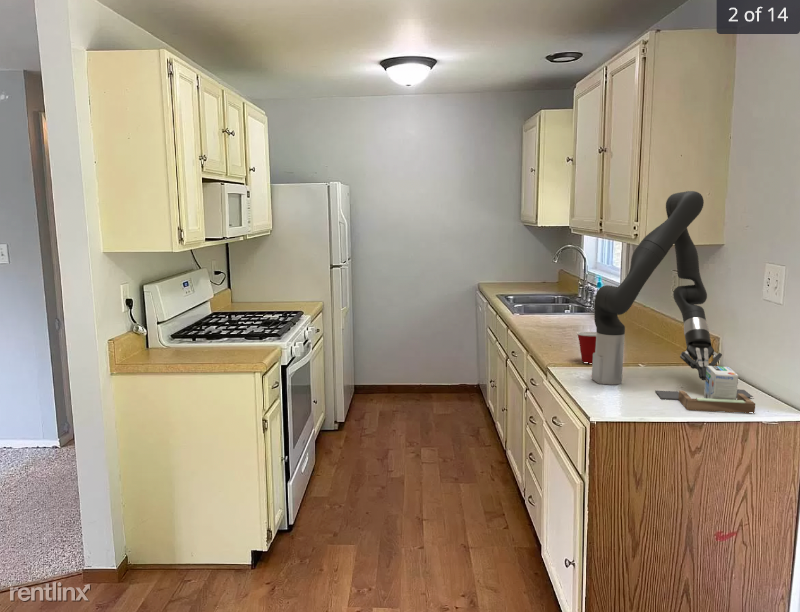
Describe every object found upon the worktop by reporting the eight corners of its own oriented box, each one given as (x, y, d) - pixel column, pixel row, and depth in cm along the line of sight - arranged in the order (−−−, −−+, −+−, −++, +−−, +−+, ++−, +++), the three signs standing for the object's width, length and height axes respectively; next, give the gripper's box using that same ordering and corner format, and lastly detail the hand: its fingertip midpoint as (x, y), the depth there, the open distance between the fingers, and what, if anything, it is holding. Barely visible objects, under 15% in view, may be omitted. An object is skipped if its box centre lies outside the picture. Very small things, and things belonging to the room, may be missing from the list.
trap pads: (651, 386, 207) (651, 385, 206) (744, 391, 202) (744, 389, 202) (661, 399, 193) (661, 397, 193) (761, 404, 188) (761, 402, 188)
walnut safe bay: (678, 399, 193) (679, 389, 192) (741, 403, 189) (742, 392, 189) (687, 409, 183) (688, 399, 182) (754, 413, 180) (755, 402, 179)
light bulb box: (703, 398, 195) (705, 365, 193) (726, 399, 193) (729, 366, 191) (711, 408, 184) (714, 373, 183) (736, 410, 183) (739, 375, 181)
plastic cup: (598, 358, 244) (599, 329, 242) (608, 365, 233) (610, 335, 232) (571, 359, 244) (572, 329, 242) (580, 366, 233) (581, 335, 231)
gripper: (678, 327, 204) (685, 372, 194) (721, 328, 202) (730, 374, 192) (673, 339, 210) (680, 383, 200) (714, 340, 208) (723, 386, 198)
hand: (705, 379), depth 196 cm, fingers closed
